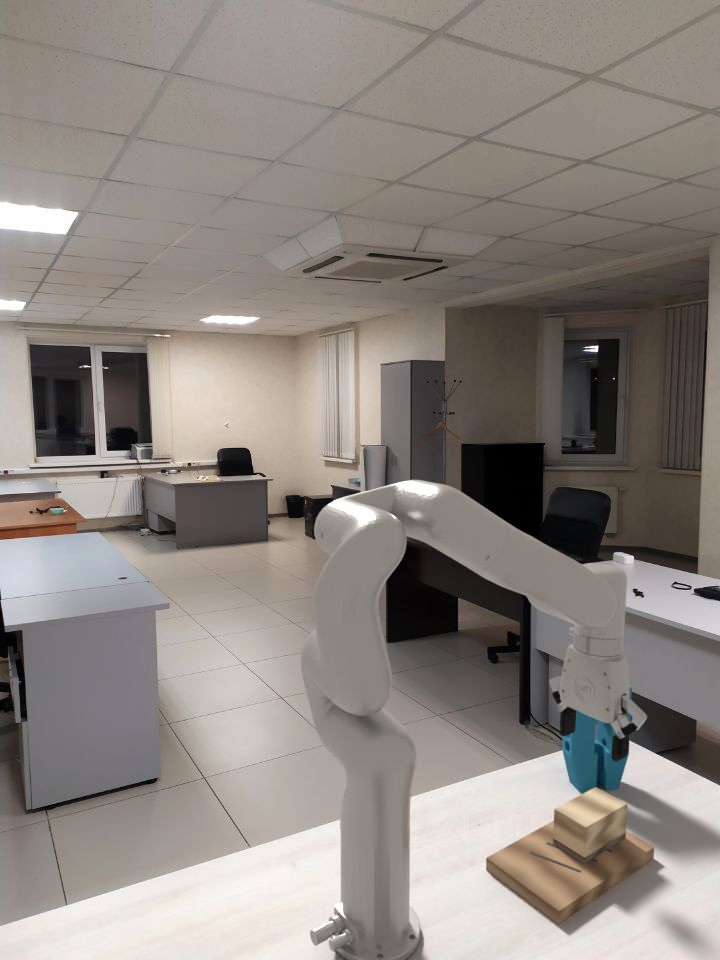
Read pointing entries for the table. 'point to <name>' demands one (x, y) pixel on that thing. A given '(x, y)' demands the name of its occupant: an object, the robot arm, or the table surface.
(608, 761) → the block
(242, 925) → the table surface
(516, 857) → the oak board
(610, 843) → the block
